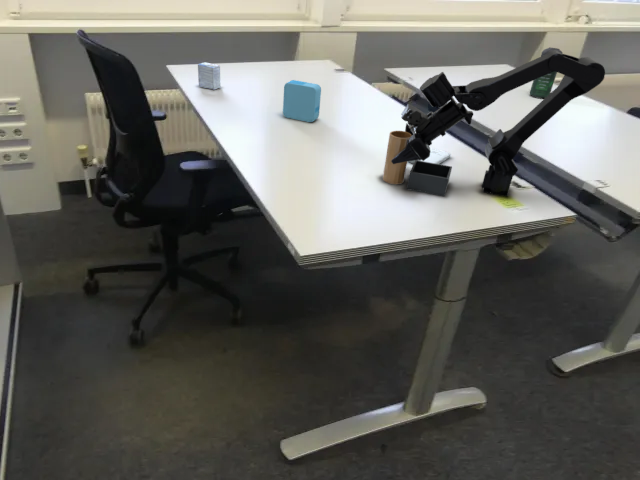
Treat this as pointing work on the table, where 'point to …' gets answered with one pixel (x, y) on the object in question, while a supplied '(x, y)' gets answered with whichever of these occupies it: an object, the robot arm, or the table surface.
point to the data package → (301, 100)
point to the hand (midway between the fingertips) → (392, 156)
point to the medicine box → (209, 75)
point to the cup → (395, 145)
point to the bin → (429, 178)
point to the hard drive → (435, 156)
